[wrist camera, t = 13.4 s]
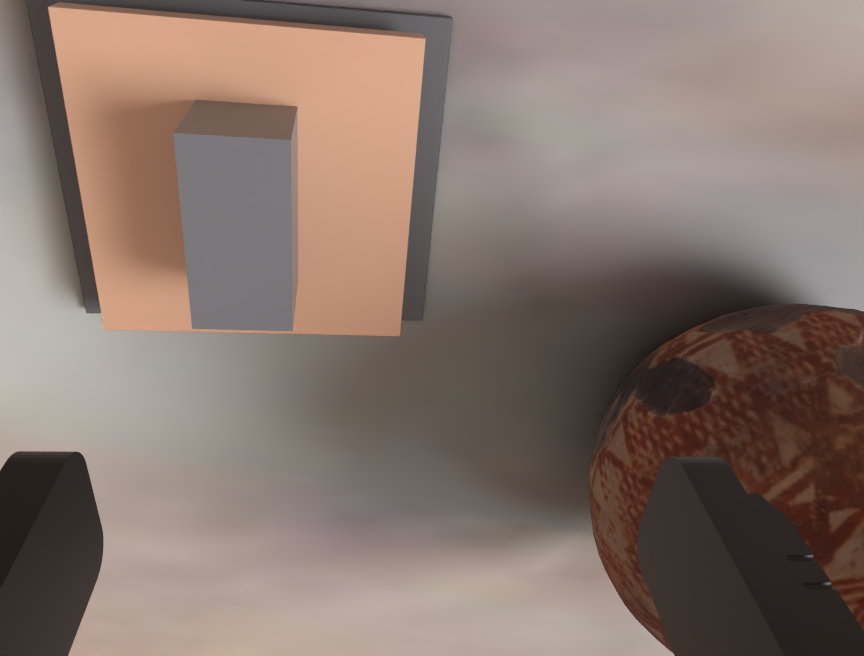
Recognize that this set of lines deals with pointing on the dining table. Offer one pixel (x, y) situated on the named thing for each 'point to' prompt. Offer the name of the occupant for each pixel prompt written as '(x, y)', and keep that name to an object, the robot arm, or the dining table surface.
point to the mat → (247, 4)
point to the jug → (743, 436)
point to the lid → (242, 168)
